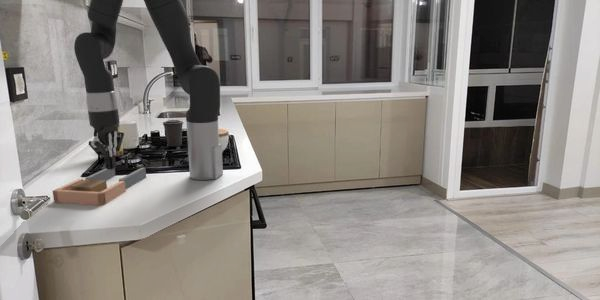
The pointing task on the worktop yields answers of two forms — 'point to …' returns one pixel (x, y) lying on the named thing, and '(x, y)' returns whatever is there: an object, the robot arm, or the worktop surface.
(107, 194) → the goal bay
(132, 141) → the white cup
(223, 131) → the lidded jar
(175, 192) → the worktop surface
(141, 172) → the tunnel
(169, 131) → the coffee cup
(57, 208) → the worktop surface
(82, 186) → the walnut block
